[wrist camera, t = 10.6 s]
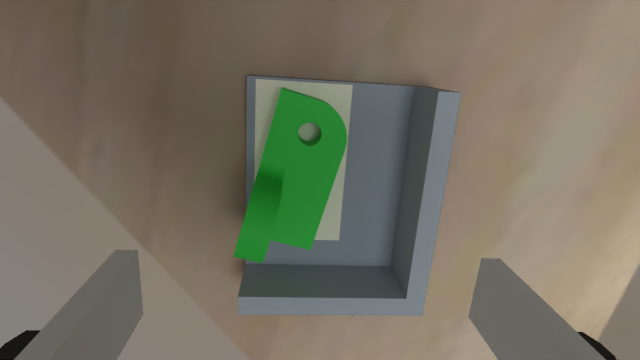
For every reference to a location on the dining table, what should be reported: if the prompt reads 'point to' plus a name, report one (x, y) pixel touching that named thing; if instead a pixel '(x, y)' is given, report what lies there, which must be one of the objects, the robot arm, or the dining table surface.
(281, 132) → the mechanical part
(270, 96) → the corner arena
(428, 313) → the dining table surface
